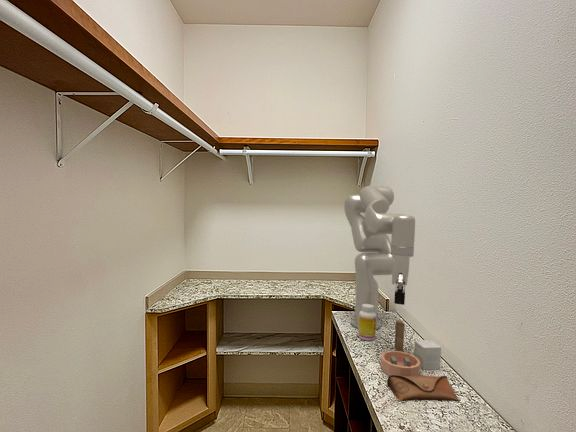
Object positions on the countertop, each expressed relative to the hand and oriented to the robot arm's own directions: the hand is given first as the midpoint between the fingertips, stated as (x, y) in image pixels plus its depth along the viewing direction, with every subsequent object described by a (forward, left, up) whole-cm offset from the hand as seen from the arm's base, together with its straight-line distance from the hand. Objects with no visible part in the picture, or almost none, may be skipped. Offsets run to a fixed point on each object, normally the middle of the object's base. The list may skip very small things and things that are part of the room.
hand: (399, 300), depth 115 cm
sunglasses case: (+23, +1, -20) cm, 31 cm away
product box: (+6, +8, -20) cm, 22 cm away
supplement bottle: (-15, -8, -20) cm, 26 cm away
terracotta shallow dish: (+10, -2, -20) cm, 22 cm away
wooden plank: (-6, +2, -20) cm, 21 cm away
